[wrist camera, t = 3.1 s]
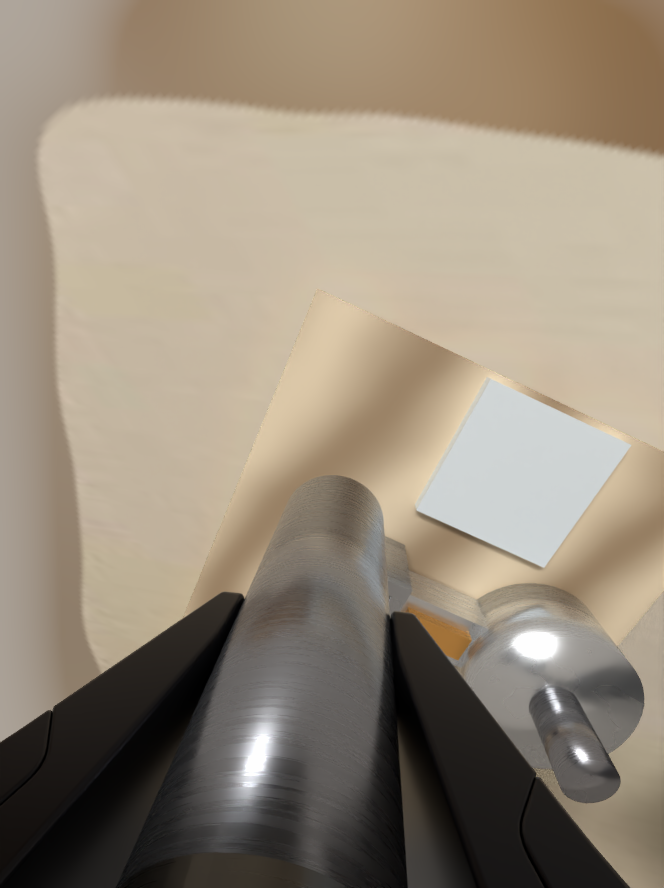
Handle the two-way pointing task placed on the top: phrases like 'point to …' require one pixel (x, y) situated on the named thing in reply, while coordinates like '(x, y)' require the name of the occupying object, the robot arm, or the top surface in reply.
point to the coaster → (519, 473)
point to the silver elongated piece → (533, 671)
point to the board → (425, 471)
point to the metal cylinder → (293, 722)
